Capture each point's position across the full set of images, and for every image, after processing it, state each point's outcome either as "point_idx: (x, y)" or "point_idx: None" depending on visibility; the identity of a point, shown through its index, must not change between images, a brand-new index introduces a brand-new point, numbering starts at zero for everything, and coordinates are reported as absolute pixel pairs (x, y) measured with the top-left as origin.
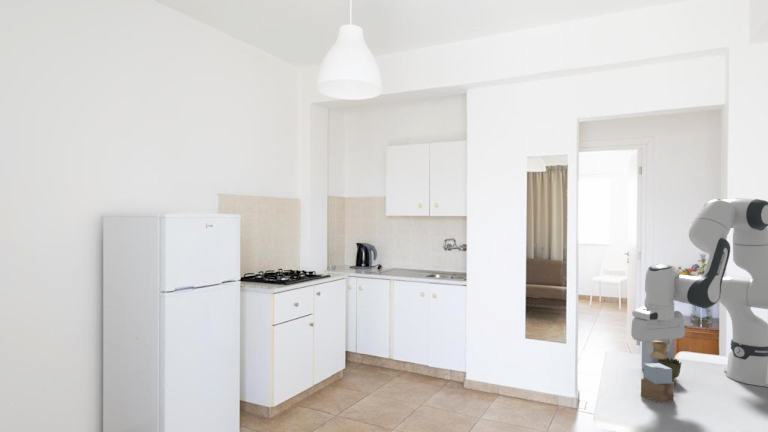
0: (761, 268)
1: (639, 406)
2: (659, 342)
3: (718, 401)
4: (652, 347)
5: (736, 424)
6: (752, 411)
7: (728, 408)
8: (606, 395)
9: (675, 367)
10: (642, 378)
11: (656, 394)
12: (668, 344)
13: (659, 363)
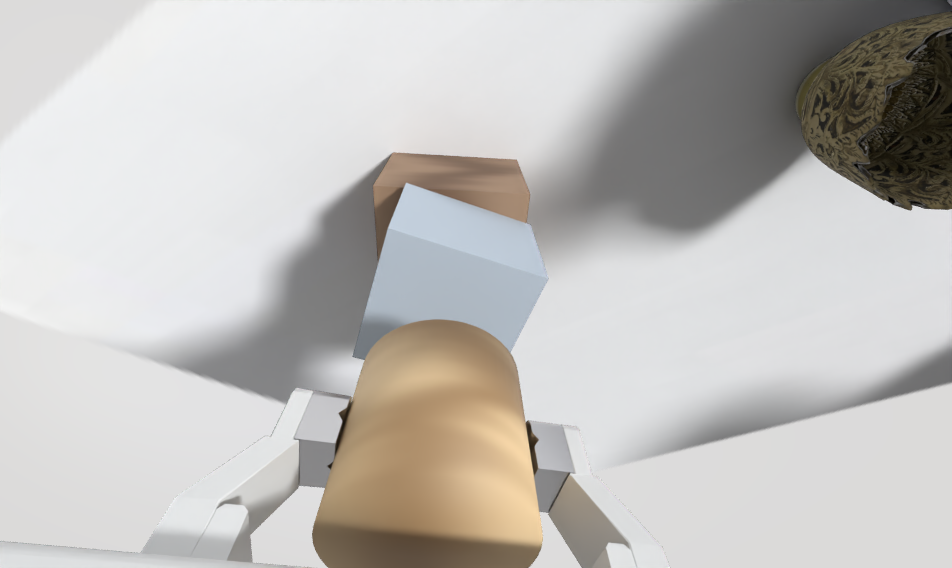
0: None
1: (252, 237)
2: (441, 548)
3: (662, 359)
4: (280, 498)
5: None
6: (649, 441)
7: (608, 402)
8: (161, 33)
9: (861, 185)
10: (387, 186)
11: None
12: (571, 539)
13: (539, 287)
